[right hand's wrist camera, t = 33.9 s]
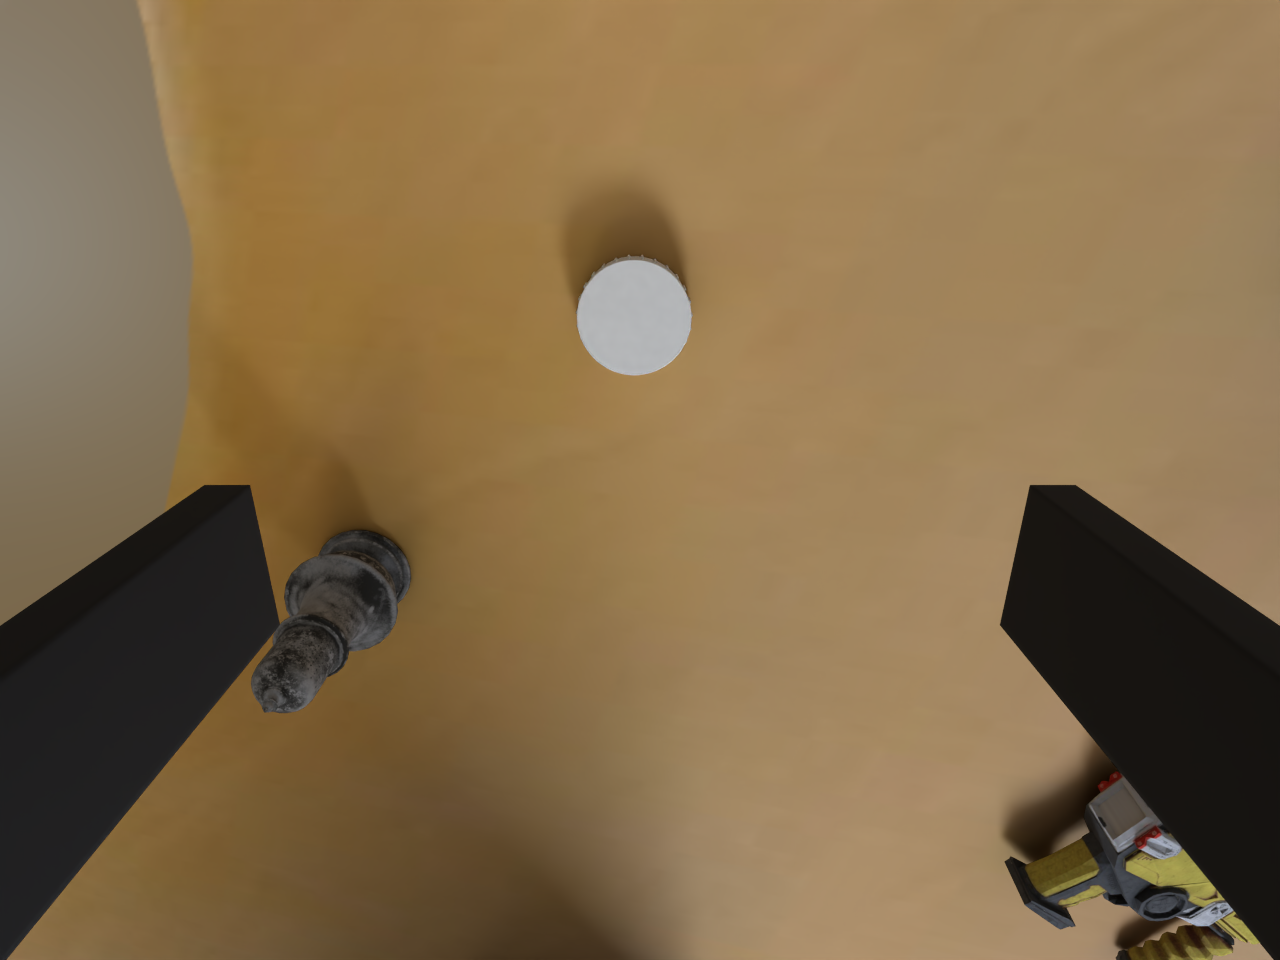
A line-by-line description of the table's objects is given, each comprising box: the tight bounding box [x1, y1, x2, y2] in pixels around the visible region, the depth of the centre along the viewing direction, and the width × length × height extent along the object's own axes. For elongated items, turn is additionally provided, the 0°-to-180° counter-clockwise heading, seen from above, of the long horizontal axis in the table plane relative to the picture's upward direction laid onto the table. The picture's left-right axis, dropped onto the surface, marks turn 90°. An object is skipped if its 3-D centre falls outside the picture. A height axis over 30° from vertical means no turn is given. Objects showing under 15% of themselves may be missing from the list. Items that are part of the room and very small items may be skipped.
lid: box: [576, 255, 692, 375], centre depth 36 cm, size 6×6×2 cm
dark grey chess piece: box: [251, 530, 411, 713], centre depth 36 cm, size 6×6×12 cm
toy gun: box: [1005, 771, 1260, 960], centre depth 49 cm, size 5×24×15 cm
